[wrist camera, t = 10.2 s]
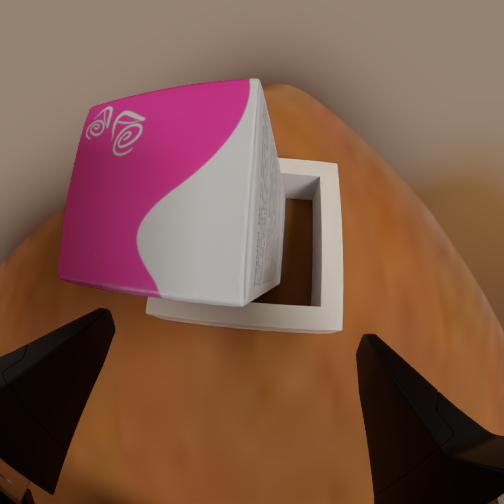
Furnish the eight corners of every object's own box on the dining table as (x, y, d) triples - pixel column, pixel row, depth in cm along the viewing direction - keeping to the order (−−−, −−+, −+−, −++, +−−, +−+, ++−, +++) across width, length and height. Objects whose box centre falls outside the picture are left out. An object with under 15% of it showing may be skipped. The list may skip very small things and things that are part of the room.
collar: (328, 333, 16) (342, 330, 13) (163, 319, 17) (145, 313, 14) (328, 188, 20) (336, 163, 17) (189, 179, 20) (179, 155, 17)
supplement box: (286, 190, 17) (267, 72, 6) (280, 286, 17) (250, 326, 6) (198, 188, 18) (84, 102, 7) (190, 278, 18) (53, 291, 6)
